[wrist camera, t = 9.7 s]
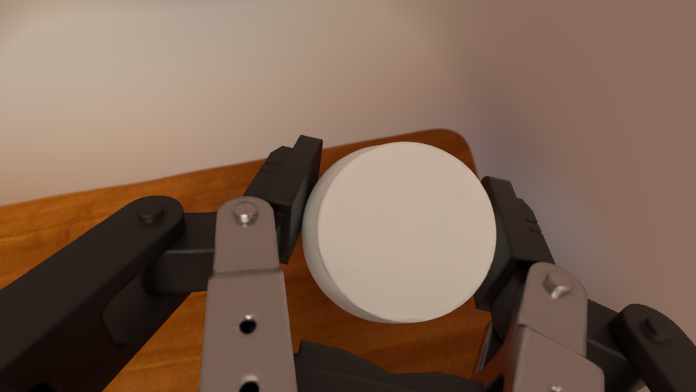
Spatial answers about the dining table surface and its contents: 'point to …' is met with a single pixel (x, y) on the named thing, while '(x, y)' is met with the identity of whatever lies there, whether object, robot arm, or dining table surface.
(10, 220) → the dining table surface
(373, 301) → the pill bottle
